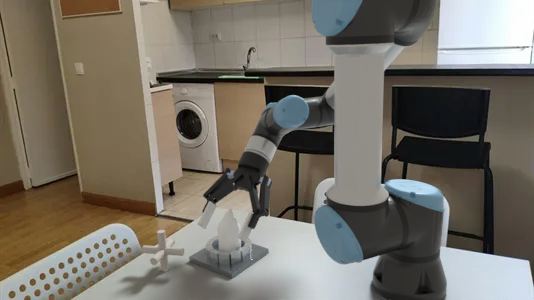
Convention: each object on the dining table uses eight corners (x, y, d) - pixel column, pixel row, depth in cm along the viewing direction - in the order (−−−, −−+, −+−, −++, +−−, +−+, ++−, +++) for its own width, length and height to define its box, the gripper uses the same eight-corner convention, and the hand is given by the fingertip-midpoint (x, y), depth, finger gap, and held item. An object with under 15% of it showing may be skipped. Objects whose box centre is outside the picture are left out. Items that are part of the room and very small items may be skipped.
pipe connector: (176, 282, 99) (172, 242, 96) (136, 279, 101) (130, 240, 98) (192, 260, 108) (189, 223, 106) (155, 257, 110) (150, 221, 108)
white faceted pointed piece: (220, 202, 109) (242, 203, 108) (223, 246, 112) (244, 247, 111) (212, 212, 103) (235, 213, 102) (216, 258, 107) (238, 259, 105)
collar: (268, 253, 111) (268, 239, 110) (232, 278, 100) (231, 263, 99) (227, 239, 119) (226, 226, 118) (189, 261, 108) (188, 247, 107)
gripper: (302, 172, 109) (268, 252, 101) (228, 158, 123) (194, 227, 115) (290, 156, 103) (253, 240, 95) (214, 144, 117) (177, 215, 110)
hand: (220, 233), depth 105 cm, fingers open, 12 cm apart
